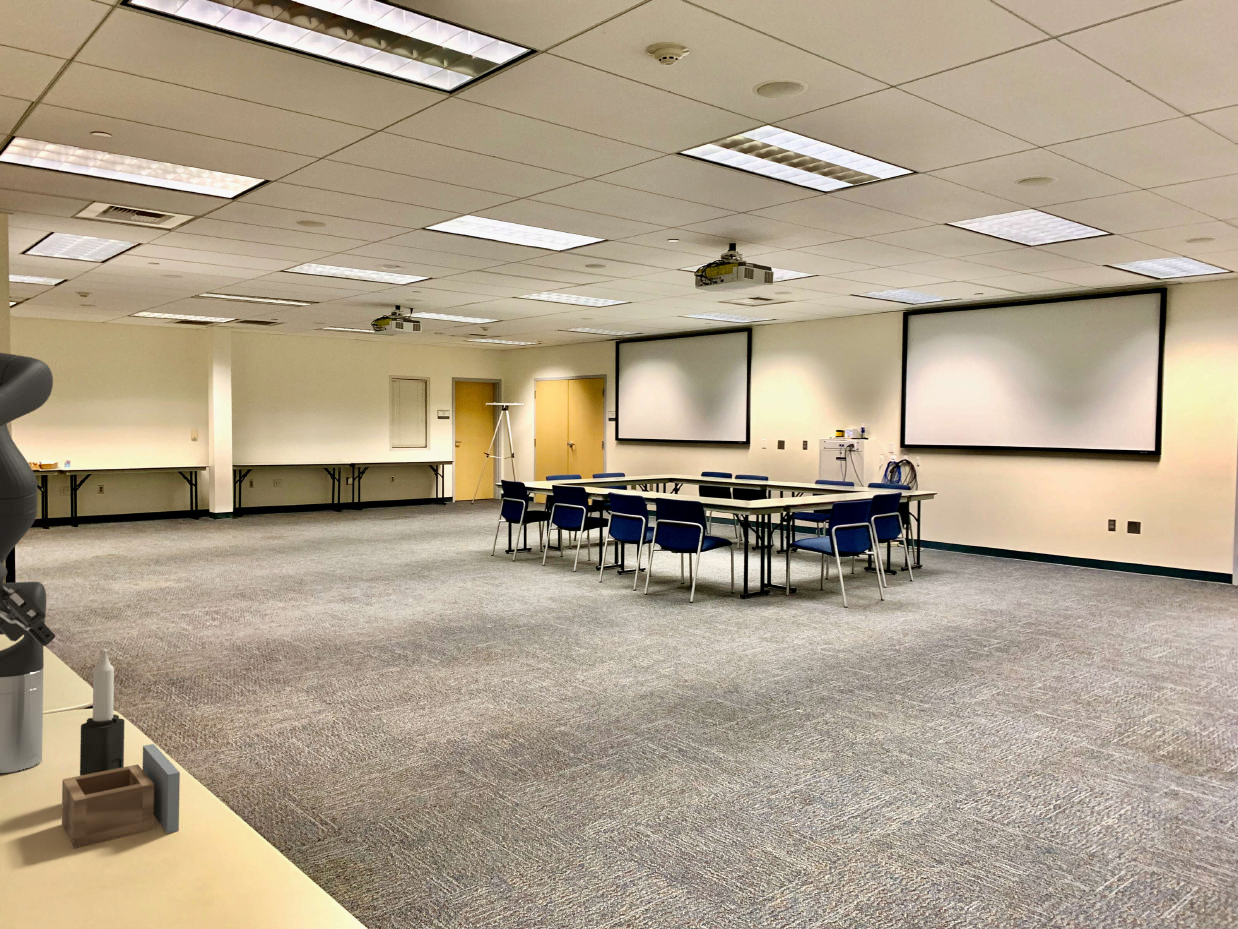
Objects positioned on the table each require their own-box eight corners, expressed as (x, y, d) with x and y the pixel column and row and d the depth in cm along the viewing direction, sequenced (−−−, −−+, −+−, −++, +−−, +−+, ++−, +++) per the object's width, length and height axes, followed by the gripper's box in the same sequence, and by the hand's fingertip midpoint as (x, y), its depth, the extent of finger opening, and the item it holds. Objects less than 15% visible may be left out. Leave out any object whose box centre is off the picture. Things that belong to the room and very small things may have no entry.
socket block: (61, 824, 133) (62, 779, 133) (137, 807, 139) (137, 764, 139) (73, 848, 125) (74, 801, 125) (153, 829, 132) (153, 784, 132)
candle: (102, 806, 139) (105, 653, 139) (75, 803, 140) (78, 651, 140) (126, 794, 144) (129, 646, 144) (100, 791, 145) (103, 644, 145)
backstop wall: (141, 799, 142) (142, 745, 142) (152, 797, 143) (153, 743, 143) (167, 833, 130) (168, 774, 130) (178, 830, 131) (179, 772, 131)
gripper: (9, 548, 125) (79, 625, 134) (-41, 545, 132) (29, 618, 141) (-37, 584, 120) (39, 662, 129) (-87, 579, 127) (-12, 653, 136)
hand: (34, 639), depth 135 cm, fingers open, 8 cm apart
